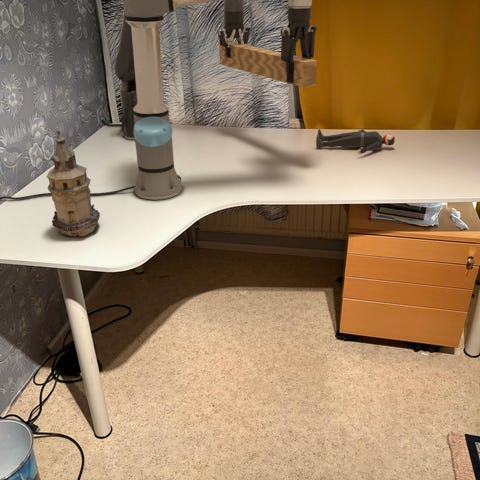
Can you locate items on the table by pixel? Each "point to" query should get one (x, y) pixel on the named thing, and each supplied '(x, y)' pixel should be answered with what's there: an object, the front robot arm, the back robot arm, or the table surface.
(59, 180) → the miniature building
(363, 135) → the toy
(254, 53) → the post
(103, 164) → the table surface
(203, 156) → the table surface
